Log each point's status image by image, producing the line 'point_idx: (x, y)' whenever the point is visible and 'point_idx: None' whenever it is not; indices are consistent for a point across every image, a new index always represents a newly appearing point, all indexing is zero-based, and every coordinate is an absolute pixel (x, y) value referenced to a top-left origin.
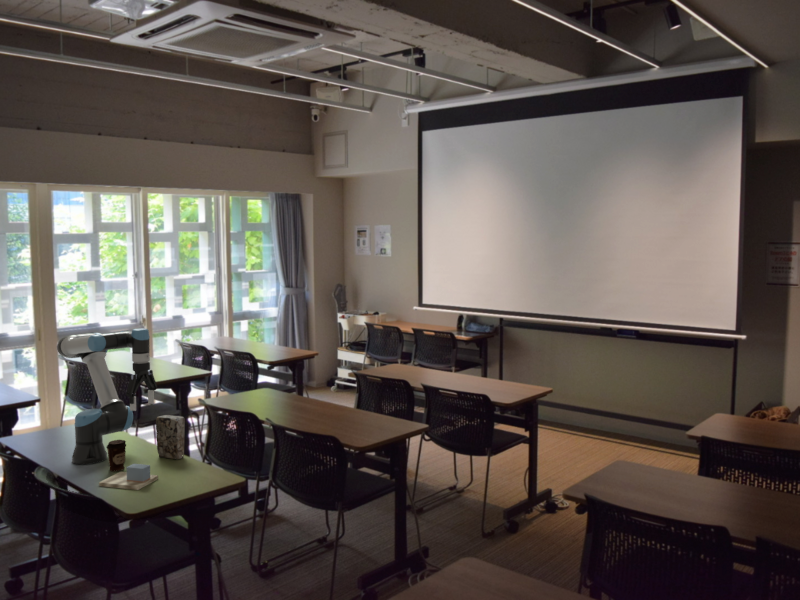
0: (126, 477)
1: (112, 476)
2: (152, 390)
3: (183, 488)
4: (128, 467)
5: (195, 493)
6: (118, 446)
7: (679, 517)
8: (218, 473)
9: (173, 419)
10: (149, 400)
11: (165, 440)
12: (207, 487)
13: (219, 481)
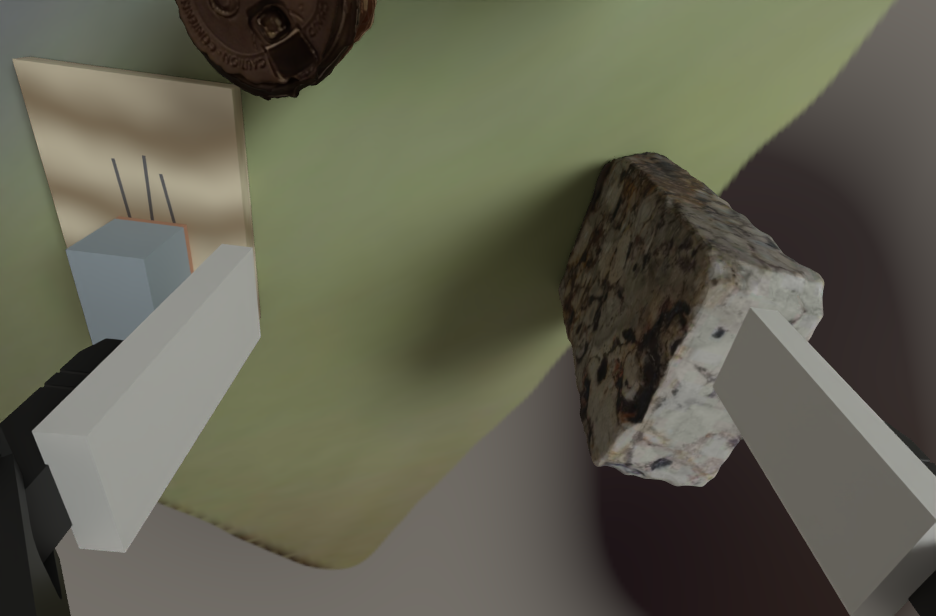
0: (162, 185)
1: (138, 86)
2: (870, 606)
3: (199, 448)
4: (69, 262)
5: (174, 496)
6: (210, 62)
7: None
8: (396, 498)
9: (610, 450)
10: (768, 366)
11: (608, 265)
12: (243, 509)
13: (314, 523)
